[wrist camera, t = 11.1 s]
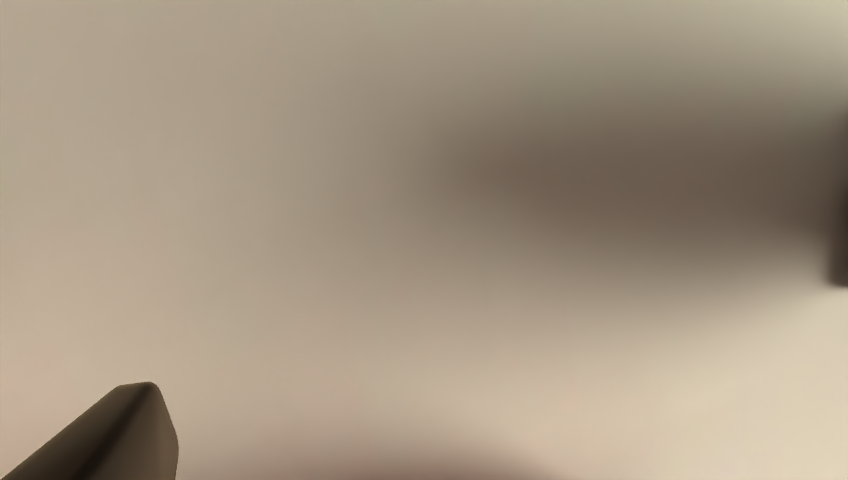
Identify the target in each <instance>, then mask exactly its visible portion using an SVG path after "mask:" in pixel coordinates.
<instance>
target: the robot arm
mask: <svg viewBox="0 0 848 480" xmlns="http://www.w3.org/2000/svg"><path fill="white" fill-rule="evenodd" d="M178 451H179V448H178V439H177V435H176V432H175V429H174V426H173V424H172V421H171V418H170V415H169V413H168V410H167V407H166V405H165V402H164V399H163V396H162V394H161V391H160V389H159V388H158V387H157V385H156V384H154V383H152V382H142V383H134V384H126V385H120V386H118V387H116V388H114V389H113V390H112V391H110V392H109V393H108V394H107V395H105V396H104V397H103V398H102V399H100V400H99V401H98V402H97V403H95V404H94V405H93V406H92V407H90V408H89V409H88V410H87V411H86V412H84V413H83V414H82V415H81V416H79V417H78V418H77V419H76V420H74V421H73V422H72V423H71V424H69V425H68V426H67V427H66V428H64V429H63V430H62V431H61V432H59V433H58V434H57V435H56V436H54V437H53V438H52V439H51V440H50V441H48V442H47V443H46V444H45V445H43V446H42V447H41V448H40V449H38V450H37V451H36V452H35V453H33V454H32V455H31V456H30V457H28V458H27V459H26V460H25V461H23V462H22V463H21V464H20V465H18V466H17V467H16V468H15V469H13V470H12V471H11V472H10V473H8V474H7V475H6V476H5V477H4V478H2V479H1V480H175V476H176V469H177V462H178Z"/></svg>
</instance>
